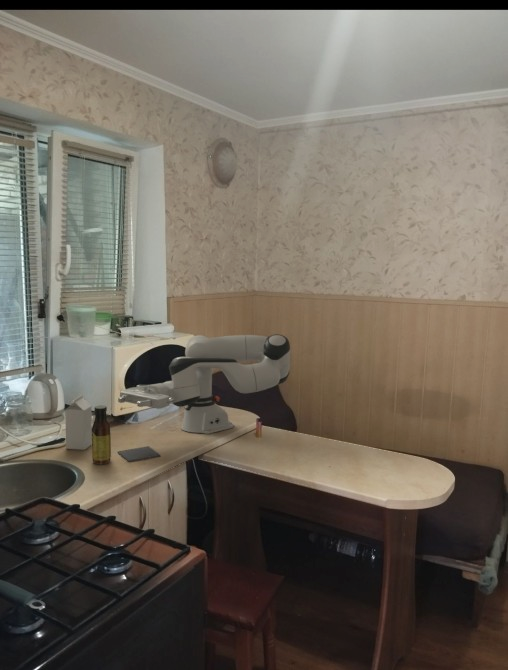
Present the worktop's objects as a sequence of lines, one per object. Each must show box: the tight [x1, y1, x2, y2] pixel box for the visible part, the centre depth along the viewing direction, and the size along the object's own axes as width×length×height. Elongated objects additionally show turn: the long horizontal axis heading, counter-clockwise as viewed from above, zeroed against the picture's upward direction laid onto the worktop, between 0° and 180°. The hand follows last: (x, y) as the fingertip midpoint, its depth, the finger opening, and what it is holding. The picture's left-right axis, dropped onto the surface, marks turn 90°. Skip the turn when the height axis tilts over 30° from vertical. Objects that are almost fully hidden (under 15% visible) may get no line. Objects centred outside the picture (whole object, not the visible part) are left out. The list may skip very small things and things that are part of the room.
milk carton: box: [64, 394, 93, 451], centre depth 203 cm, size 7×7×19 cm
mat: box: [117, 445, 161, 463], centre depth 198 cm, size 12×11×1 cm
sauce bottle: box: [91, 404, 112, 465], centre depth 188 cm, size 7×6×20 cm
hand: (129, 402), depth 195 cm, fingers open, 8 cm apart
